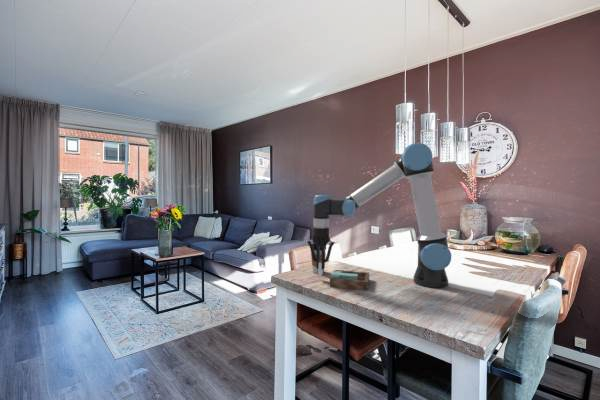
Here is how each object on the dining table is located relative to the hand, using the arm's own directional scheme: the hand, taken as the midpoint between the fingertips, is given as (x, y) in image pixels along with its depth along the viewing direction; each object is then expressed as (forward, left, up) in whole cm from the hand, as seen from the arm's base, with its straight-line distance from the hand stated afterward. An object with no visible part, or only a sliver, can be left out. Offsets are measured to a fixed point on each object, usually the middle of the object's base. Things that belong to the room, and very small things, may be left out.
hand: (320, 275), depth 147 cm
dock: (-14, 0, -2) cm, 14 cm away
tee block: (-12, 0, -2) cm, 12 cm away
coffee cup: (+4, -14, -3) cm, 15 cm away
